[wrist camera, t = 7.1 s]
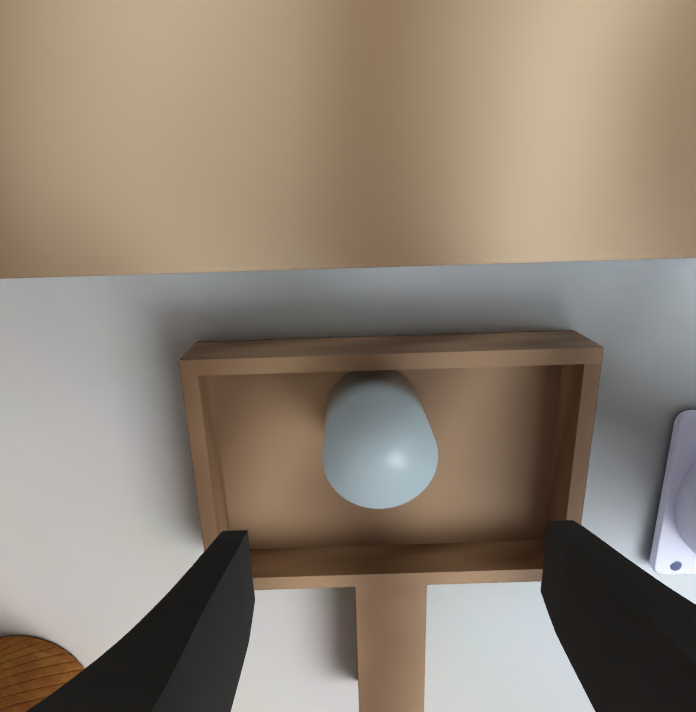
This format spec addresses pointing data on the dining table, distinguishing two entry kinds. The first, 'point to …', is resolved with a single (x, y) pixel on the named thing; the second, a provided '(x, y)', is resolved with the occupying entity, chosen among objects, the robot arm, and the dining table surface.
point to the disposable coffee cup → (32, 671)
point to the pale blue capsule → (377, 440)
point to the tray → (414, 518)
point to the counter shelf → (343, 134)
